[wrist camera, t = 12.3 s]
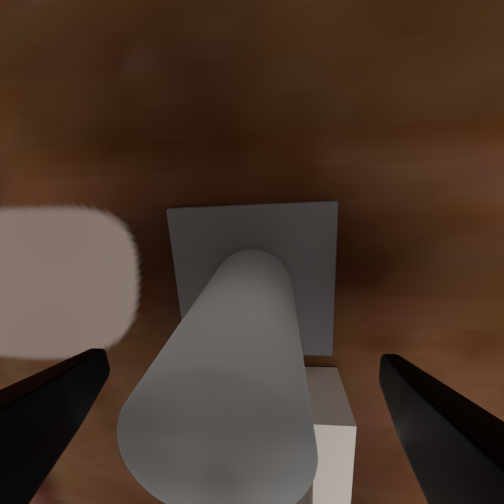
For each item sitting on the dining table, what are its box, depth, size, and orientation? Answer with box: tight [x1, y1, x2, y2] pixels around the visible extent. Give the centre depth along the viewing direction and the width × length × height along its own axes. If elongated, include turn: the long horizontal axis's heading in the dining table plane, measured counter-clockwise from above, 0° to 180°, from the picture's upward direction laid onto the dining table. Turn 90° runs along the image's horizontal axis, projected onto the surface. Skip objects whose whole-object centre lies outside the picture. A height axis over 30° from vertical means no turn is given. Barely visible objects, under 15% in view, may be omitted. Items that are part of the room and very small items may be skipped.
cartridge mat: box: [166, 200, 338, 356], centre depth 14 cm, size 9×9×1 cm
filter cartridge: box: [117, 249, 318, 504], centre depth 10 cm, size 4×4×9 cm
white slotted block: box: [296, 367, 356, 504], centre depth 17 cm, size 10×18×4 cm, turn 3°
